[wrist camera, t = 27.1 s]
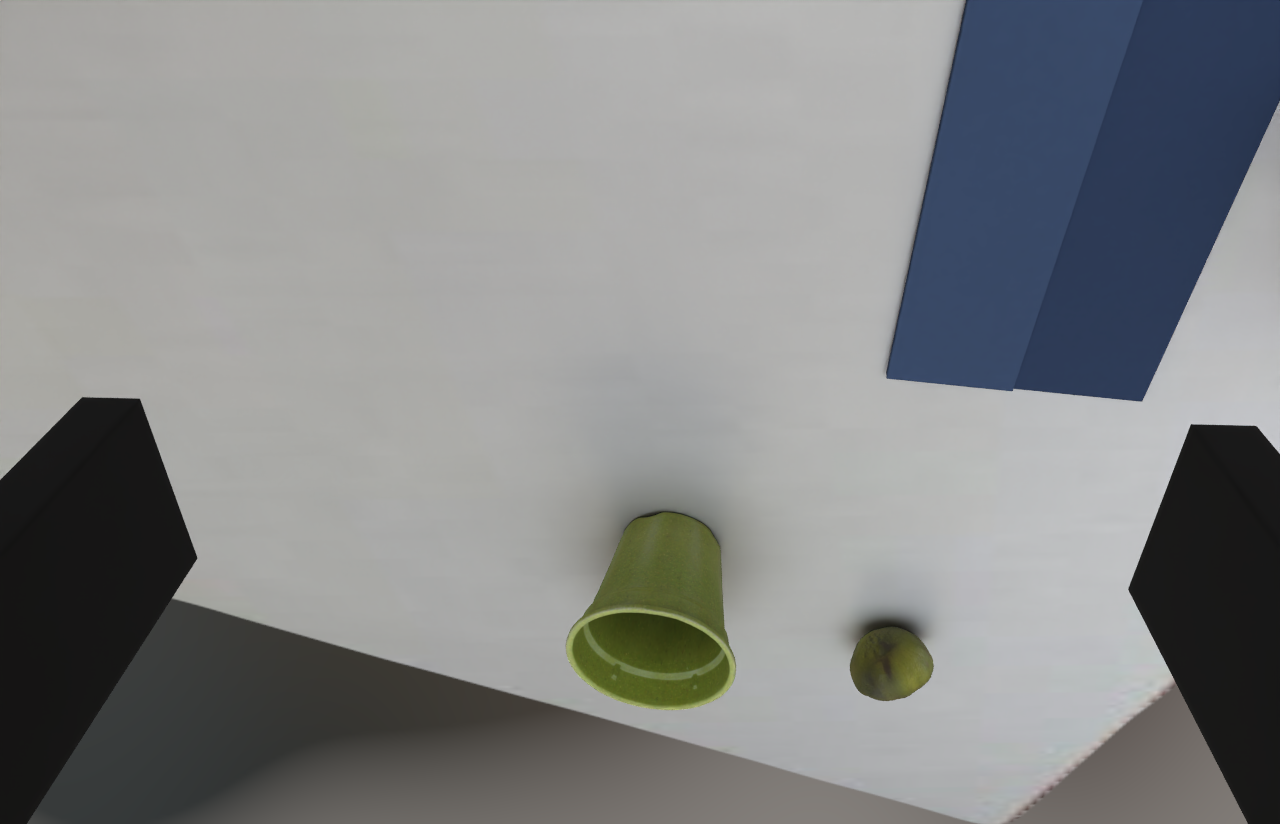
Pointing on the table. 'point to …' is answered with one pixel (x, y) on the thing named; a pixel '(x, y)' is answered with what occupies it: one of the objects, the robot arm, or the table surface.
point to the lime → (890, 664)
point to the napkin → (1080, 188)
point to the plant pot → (657, 619)
